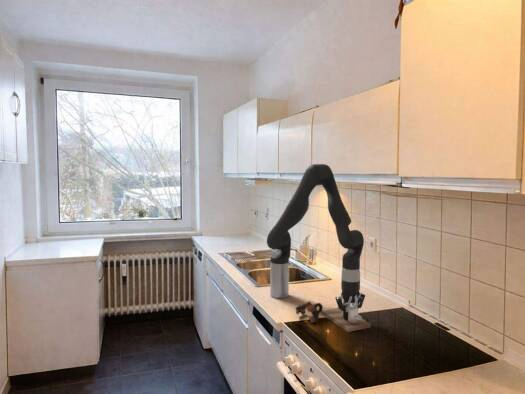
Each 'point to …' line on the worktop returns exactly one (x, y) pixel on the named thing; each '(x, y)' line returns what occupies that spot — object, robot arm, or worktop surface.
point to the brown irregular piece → (310, 310)
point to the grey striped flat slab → (337, 318)
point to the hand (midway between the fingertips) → (350, 318)
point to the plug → (353, 314)
